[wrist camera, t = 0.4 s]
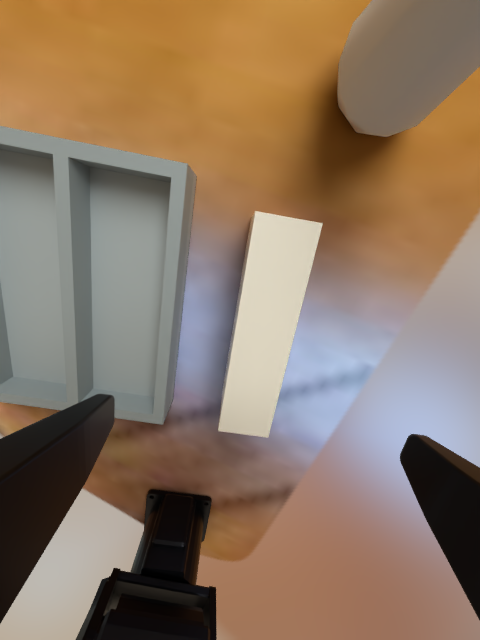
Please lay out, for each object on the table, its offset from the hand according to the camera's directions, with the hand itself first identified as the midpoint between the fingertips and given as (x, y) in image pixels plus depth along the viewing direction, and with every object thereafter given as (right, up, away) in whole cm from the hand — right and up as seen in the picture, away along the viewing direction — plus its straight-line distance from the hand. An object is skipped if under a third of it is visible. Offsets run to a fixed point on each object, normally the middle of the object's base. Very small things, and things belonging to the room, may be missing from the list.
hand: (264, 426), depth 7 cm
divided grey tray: (-12, +5, +11) cm, 17 cm away
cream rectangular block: (+1, +3, +12) cm, 13 cm away
